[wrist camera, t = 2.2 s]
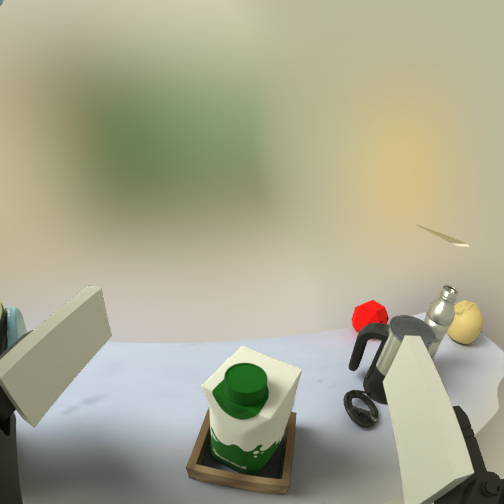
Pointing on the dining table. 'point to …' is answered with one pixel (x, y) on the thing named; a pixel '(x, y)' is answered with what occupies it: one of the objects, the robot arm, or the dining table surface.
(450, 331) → the pale yellow rounded lump
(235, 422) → the soya milk
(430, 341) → the milk frother
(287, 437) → the holder
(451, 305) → the plastic bottle
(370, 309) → the ball
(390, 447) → the dining table surface
